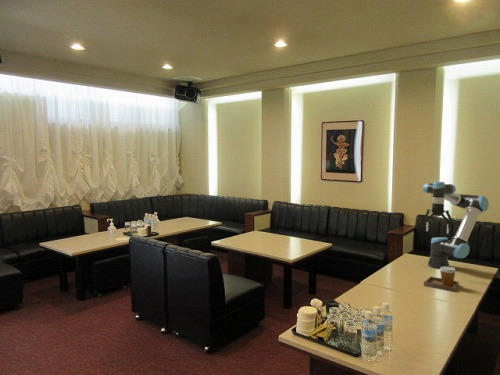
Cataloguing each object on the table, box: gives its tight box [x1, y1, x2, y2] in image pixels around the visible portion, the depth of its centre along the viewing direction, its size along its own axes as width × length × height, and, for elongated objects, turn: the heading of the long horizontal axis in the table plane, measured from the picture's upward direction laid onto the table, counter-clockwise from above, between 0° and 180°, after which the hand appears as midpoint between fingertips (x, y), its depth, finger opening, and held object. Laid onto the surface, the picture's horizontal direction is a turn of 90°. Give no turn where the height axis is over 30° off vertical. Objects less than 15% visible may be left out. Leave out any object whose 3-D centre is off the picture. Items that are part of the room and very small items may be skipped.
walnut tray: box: [423, 276, 460, 293], centre depth 240 cm, size 16×18×2 cm
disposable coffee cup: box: [439, 266, 457, 287], centre depth 238 cm, size 10×10×12 cm
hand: (437, 232), depth 259 cm, fingers open, 13 cm apart
